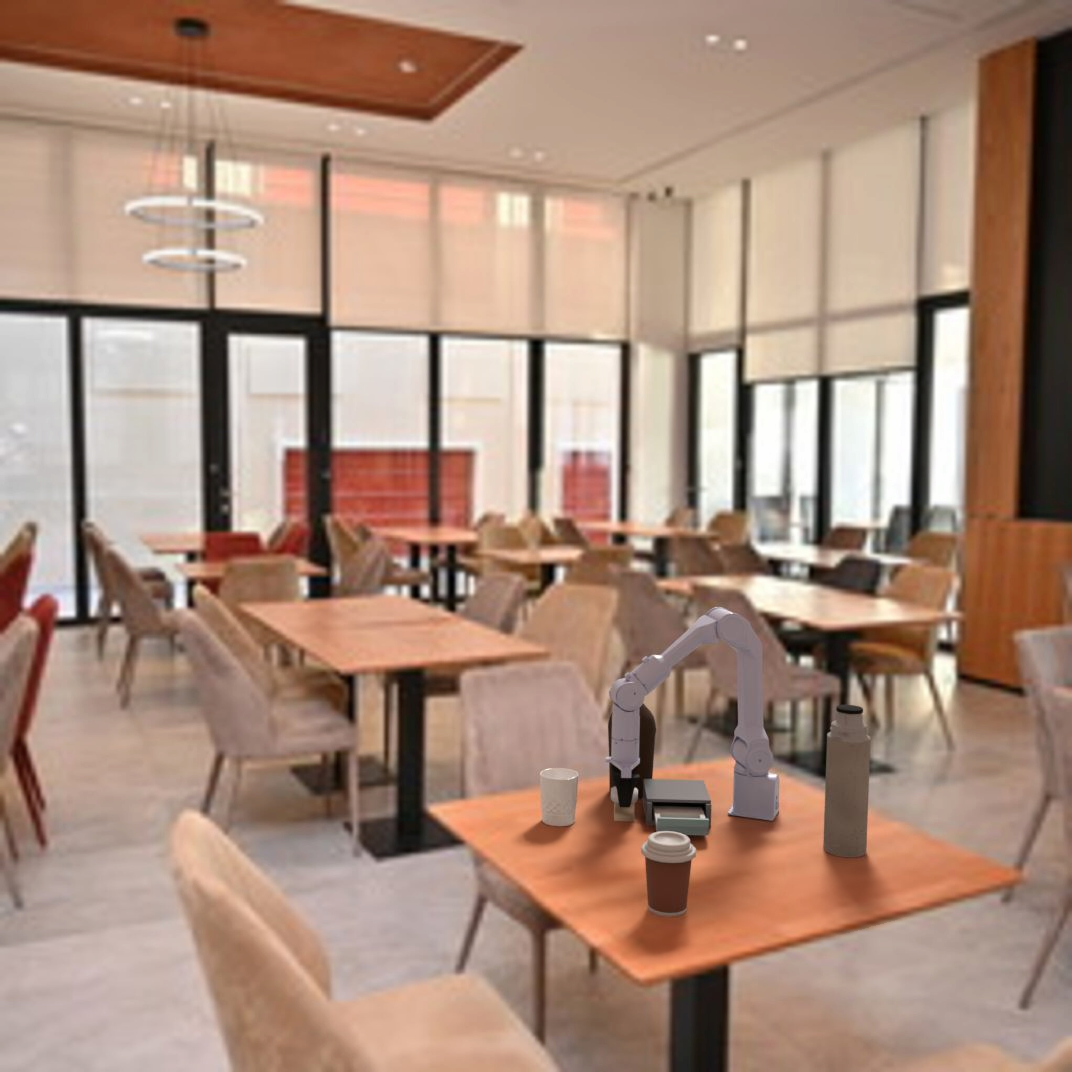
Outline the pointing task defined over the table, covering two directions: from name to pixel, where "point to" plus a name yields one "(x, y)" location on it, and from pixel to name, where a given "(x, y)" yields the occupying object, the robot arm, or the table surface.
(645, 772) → the olive oil
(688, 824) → the tray
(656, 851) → the coffee cup
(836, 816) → the thermos bottle
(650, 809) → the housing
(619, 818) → the birch block
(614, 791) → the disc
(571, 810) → the white cup
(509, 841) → the table surface
